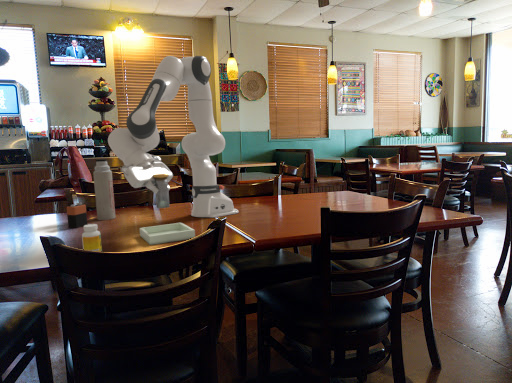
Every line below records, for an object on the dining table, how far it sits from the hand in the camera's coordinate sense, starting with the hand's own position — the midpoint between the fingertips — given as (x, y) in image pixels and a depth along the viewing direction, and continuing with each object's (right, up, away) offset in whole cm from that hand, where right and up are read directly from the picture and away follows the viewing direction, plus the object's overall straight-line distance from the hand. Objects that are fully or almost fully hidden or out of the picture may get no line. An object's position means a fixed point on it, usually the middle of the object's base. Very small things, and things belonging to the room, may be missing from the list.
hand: (163, 191), depth 137 cm
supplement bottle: (-18, -20, -18) cm, 32 cm away
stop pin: (0, -6, +1) cm, 6 cm away
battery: (-43, -15, +27) cm, 53 cm away
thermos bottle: (-38, -13, +43) cm, 59 cm away
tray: (+1, -17, +2) cm, 17 cm away
